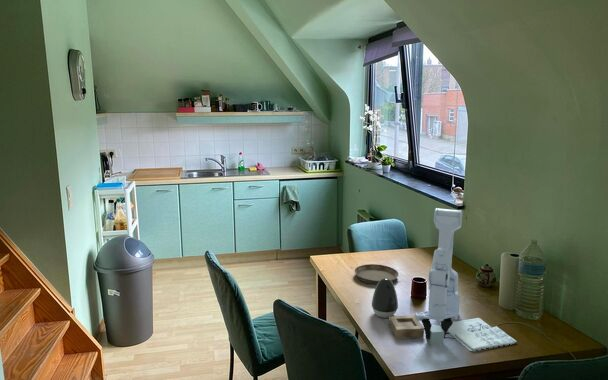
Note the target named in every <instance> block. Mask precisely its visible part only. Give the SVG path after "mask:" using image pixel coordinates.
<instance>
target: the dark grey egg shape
mask: <svg viewBox="0 0 608 380" xmlns="http://www.w3.org/2000/svg"><path fill="white" fill-rule="evenodd" d="M397 294H398V293H397V291H396V287H395V285H394V283H393V282H392V281H391V280H390V279H387V278H383V279H381V280H380V281H379V282H378V284H377V285H376V286H375V287H374V291H373V295H372V301H371V307H372V310H373V312H374V313H375V315H377V316H378V317H379V318H384V319H385V318H386V319H387V318H389V316H395V314H396V313H397V310H398V309H399V303H398V295H397Z"/></svg>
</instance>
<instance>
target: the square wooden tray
mask: <svg viewBox="0 0 608 380" xmlns="http://www.w3.org/2000/svg"><path fill="white" fill-rule="evenodd" d="M388 318H389V320H388V325H389V329H391V331H392V333H393V336H394V337H395V339H413V338H414V339H418V338H424V337H425V330H424V326H423V323H422V322H421V320H420V321H417V320H416V319H415V314H414V315H413V314H412V315H393V316H389V317H388Z"/></svg>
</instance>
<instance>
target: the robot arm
mask: <svg viewBox="0 0 608 380" xmlns="http://www.w3.org/2000/svg"><path fill="white" fill-rule="evenodd" d="M433 213H434V214H433V223H434V225H435V229H437V230H438V247H437V249H435V250H434V251H433V257H432V263H431V269H429V273H428V290H429V293H428V294H429V296H428V310H426V311H423V312H415V314H414V315H415V319H416V320H417V321H420V322H421V324H422V326H423V327H424V336H425V338H427V339H428V340H429V339H430V329H431V326H433V324H432V323H431V320H435V321H438V322H440V323H441V326H440V327H441V328H442V329H443V331H444V340H445V339H446V336H447V333H448V332H447V331H448V329H449V328H450V326H451V325H452V323H453V322H454V321H453V319H454V320H458V318H459V317H460V315H461V314H460V304H461V298H460V294H459V291H458V287H459V285H458V284H459V274H458V272H457V271H455V270H454V269H453V268H452V264H453V263H452V260H453V259H452V258H453V248H454V236H455V232H456V231H458V230H459V229H461V228H462V223H463V211H462V209H459V210H458V209H451V208H450V209H447V208H439V207H436V208H435V209H434V212H433ZM427 339H426V340H427ZM428 340H427V341H428Z"/></svg>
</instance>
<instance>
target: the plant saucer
mask: <svg viewBox="0 0 608 380" xmlns="http://www.w3.org/2000/svg"><path fill="white" fill-rule="evenodd" d="M354 273H355V275H356V277H357V278H358V279H359V280H360V281H362V282H364V283H366V284H370V285H376V286H377V284H378V282H379V281H380V280H381V279H383V278H387V279H390V280H391V281H392V283H393V282H394V281H396V280H397V279H398V277H399V271H398V270H396V269H395V268H393V267H391V266H388V265H383V264H374V263H372V264H371V263H369V264H362V265H359V266H357V267H355V269H354Z"/></svg>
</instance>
